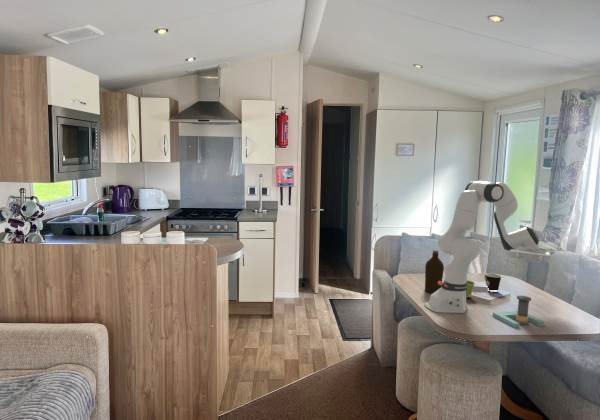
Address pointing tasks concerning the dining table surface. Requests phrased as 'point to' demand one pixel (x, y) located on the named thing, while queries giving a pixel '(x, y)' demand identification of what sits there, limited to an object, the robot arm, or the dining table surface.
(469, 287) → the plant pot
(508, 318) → the notched board
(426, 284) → the olive oil
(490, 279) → the coffee mug
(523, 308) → the door knob
